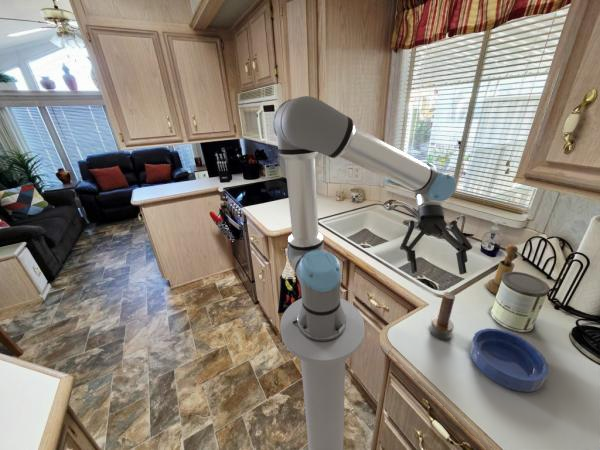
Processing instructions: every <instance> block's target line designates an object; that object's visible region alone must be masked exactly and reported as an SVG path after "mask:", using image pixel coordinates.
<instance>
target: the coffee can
mask: <svg viewBox="0 0 600 450" xmlns="http://www.w3.org/2000/svg"><path fill="white" fill-rule="evenodd" d="M550 291H551V288H550V286H549V285H548V283H547V282H546V281H544V280H543V279H541V278H539V277H537V276H535V275H532V274H529V273H526V272H521V271H512V272H506V273H504V274H503V276H502V280H501V283H500V286H499V289H498V293H497V294H496V296H495V298H494V302H493V304H492V308H491V310H490V315H491V317H492V319H493V320H494V321H495V322H497V323H498V324H499V325H501V327H504V328H507V329H509V330H511V331H514V332H519V333H528V332H530V331H532V330H533V329H534V326H535V323H536V321H537V318H538V317H539V314H540V311H541V309H542V308H543V305H544V302H545V300H546V298H547V296H548V294H549V293H550Z"/></svg>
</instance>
